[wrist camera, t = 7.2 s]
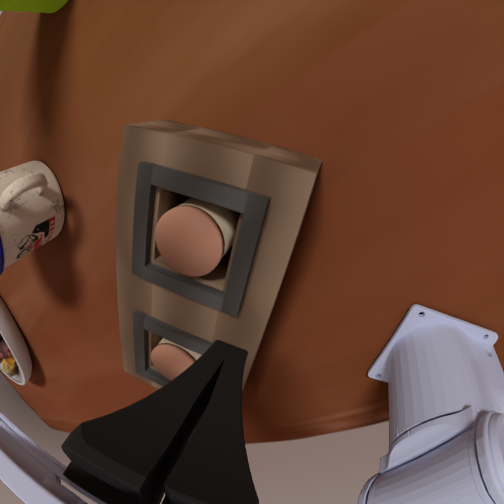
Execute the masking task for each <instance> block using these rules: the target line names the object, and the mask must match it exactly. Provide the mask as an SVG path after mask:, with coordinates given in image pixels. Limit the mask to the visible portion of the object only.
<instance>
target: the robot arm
mask: <svg viewBox="0 0 504 504" xmlns="http://www.w3.org/2000/svg"><path fill="white" fill-rule="evenodd" d="M420 312H424V313H423V314H419V313H420ZM486 334H487V335H486ZM485 335H486V336H485ZM497 339H498V335H497V333H496V332H493V331H490V330H488V329H485V328H482V327H479V326H476V325H474V324H471V323H468V322H465V321H463V320H460V319H457V318H454V317H451V316H449V315H446V314H443V313H440V312H437V311H435V310H432V309H429V308H426V307H423V306H421V305H417V304H416V305H413V306H411V308H410V309H409V311H408V312H407V314H406V315H405V317H404V319H403V320H402V322H401V323H400V325H399V327H398V328H397V330H396V331H395V333H394V334H393V336H392V337H391V339H390V340H389V342H388V343H387V345H386V346H385V348H384V349H383V351H382V352H381V354H380V355H379V356H378V358H377V359H376V361H375V362H374V363H373V365H372V366H371V368H370V369H369V370H368V376H369V377H370V378H373V379H377V380H381V381H384V382H388V389H389V452H388V454H387V455H385V456H384V457H382V458H381V459H380V472H379V473H377V474H375V475H374V476H372V477H371V478H370V479H369V480H368V481H367V483H365V485H364V487H363V488H362V490H361V493H360V495H359V499H358V504H504V372H503V370H502V367H501V365H500V362H499V360H498V357H497V355H496V352H495V350H494V347H493V345H494V343H495V342H496V341H497ZM247 356H248V352H247V350H245V349H242V348H239V347H237V346H234V345H231V344H228V343H226V342H223V341H221V340H215V341H214V343H213V344H212V345H211V346H210V347H209V348H208V349H207V350H206V352H205V353H204V354H203V355H202V356H200V357H199V358H198V359H197V360H196V361H195V362H194V363H193V364H192V365H191V366H189V367H188V368H187V369H186V370H185V371H184V372H182V373H181V374H180V375H178V376H177V377H176V378H174V379H173V380H172V381H170V382H169V383H168V384H166V385H165V386H163V387H162V388H160V389H159V390H157V391H155V392H154V393H152V394H150V395H149V396H147V397H145V398H143V399H141V400H139V401H138V402H136V403H134V404H132V405H130V406H127V407H125V408H123V409H120V410H118V411H116V412H113V413H111V414H108V415H105V416H102V417H99V418H96V419H93V420H89V421H86V422H83V423H81V424H80V425H79V426H78V427H76V428H75V429H74V430H73V431H72V432H71V433H70V435H69V436H68V438H67V439H66V440H65V442H64V443H63V444H62V450H63V451H64V453H65V454H66V455H67V456H68V458H69V459H70V460H71V462H70V464H69V465H68V467H66V466H65V465H63V464H62V463H60V462H59V461H58V460H56V459H55V458H54V457H52V456H51V455H50V454H48V453H47V452H46V451H45V450H43V449H42V448H41V447H39V446H38V445H37V444H36V443H35V442H33V441H32V440H31V439H30V438H29V437H28V436H26V435H25V434H24V433H23V432H22V431H21V430H20V429H18V428H17V427H16V426H15V425H14V424H13V423H12V422H11V421H10V420H9V419H8V418H7V417H6V416H4V414H2V413H1V412H0V479H1V480H2V481H3V482H4V483H5V484H6V485H7V486H8V487H9V488H10V489H11V490H12V491H13V492H14V493H15V494H16V495H17V496H18V497H19V498H20V499H21V500H23V502H24V503H26V504H87V503H86V502H85V501H83V500H82V499H81V498H79V497H78V496H77V495H75V494H74V493H73V492H71V491H70V490H68V489H67V488H66V487H64V486H63V485H61V481H60V479H61V480H62V481H64V482H65V483H67V484H68V485H70V486H71V487H73V488H74V489H76V490H77V491H79V492H80V493H81V494H83V495H85V496H86V497H88V498H89V499H91V500H93V501H94V502H96V503H97V504H160V502H161V500H162V497H163V495H164V493H165V498H164V500H163V502H162V504H259V500H258V497H257V494H256V491H255V487H254V484H253V480H252V476H251V472H250V468H249V463H248V458H247V454H246V448H245V441H244V432H243V421H242V383H243V374H244V367H245V362H246V358H247ZM377 374H379V375H377ZM196 426H197V427H196ZM195 428H196V429H195ZM194 430H195V431H194ZM193 431H194V432H193ZM192 433H193V434H192ZM191 435H192V436H191ZM190 437H191V438H190ZM189 439H190V440H189ZM188 441H189V442H188ZM59 478H60V479H59Z"/></svg>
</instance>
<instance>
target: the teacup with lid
mask: <svg viewBox="0 0 504 504" xmlns="http://www.w3.org/2000/svg"><path fill="white" fill-rule="evenodd" d="M64 215H65V210H64V201H63V196H62V192H61V189H60V186H59V184H58V181H57V179H56V177H55V176H54V174H53V172H52V171H51V170H50V169H49V168H48V167H47V166H46V165H45V164H44V163H42V162H39V161H30V162H27V163H24V164H21V165H18V166H16V167H13V168H10V169H7V170H5V171H2V172H0V275H1V273H2V272H3V270H4V269H5V268H7V267H8V266H10V265H11V264H13V263H14V262H16V261H17V260H19V259H20V258H22V257H23V256H25V255H27V254H28V253H30V252H31V251H33V250H35V249H36V248H38V247H40V246H41V245H43V244H45V243H46V242H48V241H50V240H51V239H53V238H55V237H56V236H57V235H58V234H59V233H60V231H61V229H62V227H63V223H64Z"/></svg>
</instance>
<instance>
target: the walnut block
mask: <svg viewBox="0 0 504 504" xmlns="http://www.w3.org/2000/svg"><path fill="white" fill-rule="evenodd" d="M321 163H322V160H319V159H316V158H313V157H310V156H307V155H304V154H300V153H297V152H294V151H291V150H287V149H284V148H280V147H277V146H274V145H270V144H266V143H263V142H259V141H255V140H252V139H248V138H244V137H240V136H236V135H232V134H228V133H224V132H220V131H215V130H211V129H207V128H202V127H197V126H193V125H188V124H183V123H178V122H173V121H168V120H159V121H151V122H144V123H137V124H130V125H124V127H123V135H122V144H121V154H120V165H119V178H118V195H117V221H116V270H117V296H118V312H119V325H120V337H121V346H122V356H123V364H124V371H125V372H127V373H129V374H131V375H133V376H135V377H136V378H138V379H140V380H142V381H144V382H146V383H148V384H150V385H152V386H154V387H156V388H158V389H160V388H162V387H163V386H165V385H166V384H168V383H169V382H170V381H171V380H169V379H167V378H166V377H164V376H163V375H162V374H161V373H160V372H159V371H158V370H157V369H156V368H155V366H154V365H153V363H152V360H151V352H152V351H153V349H154V348H155V347H156V346H157V345H158V344H159V342H160V341H161V340H162V339H163V338H164V339H166V340H168V341H171V342H173V343H175V344H177V345H179V346H182V347H184V348H186V349H189V350H191V351H193V352H196V353H198V354H200V355H203V354H204V353H205V352H206V350H207V349H208V348H209V347H210V346H211V345H212V344H213V343H214V341H215V340H221V341H223V342H226V343H228V344H231V345H234V346H237V347H239V348H242V349H245V350H247V352H248V356H247V358H246V362H245V367H244V374H243V383H242V391H243V389H244V386H245V384H246V381H247V378H248V376H249V373H250V371H251V368H252V365H253V363H254V360H255V357H256V355H257V352H258V349H259V347H260V344H261V341H262V339H263V336H264V333H265V330H266V328H267V325H268V322H269V319H270V317H271V314H272V311H273V308H274V305H275V303H276V300H277V297H278V294H279V291H280V288H281V286H282V283H283V280H284V277H285V274H286V271H287V268H288V265H289V262H290V259H291V257H292V254H293V251H294V248H295V245H296V242H297V239H298V236H299V233H300V230H301V226H302V223H303V220H304V217H305V214H306V211H307V208H308V205H309V202H310V199H311V195H312V192H313V189H314V186H315V183H316V179H317V176H318V173H319V170H320V167H321ZM191 197H192V198H195V199H198V200H201V201H204V202H208V203H211V204H214V205H217V206H220V207H223V208H226V209H229V210H233V211H236V212H239V213H240V216H239V220H238V225H237V229H236V233H235V238H234V242H233V247H232V249H229V250H228V251H227V252H226V254H225V255H224V256H223V257H222V259H221V261H220V262H219V264H218V265H217V266H216V267H215V268H214V269H213V270H212V271H211V272H210V273H208V274H206V275H203V276H188V275H184V274H182V273H180V272H178V271H176V270H174V269H173V268H172V267H171V266H169V265H168V264H167V263H166V261H165V260H164V259H163V257H162V256H161V254H160V252H159V250H158V248H157V244H156V239H155V231H156V226H157V223H158V221H159V219H160V218H161V217H162V216H163V214H165V213H166V212H167V211H169V210H171V209H172V208H174V207H177V206H179V205H180V204H182V203H183V202H185V201H187V200H188V199H190V198H191Z"/></svg>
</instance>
